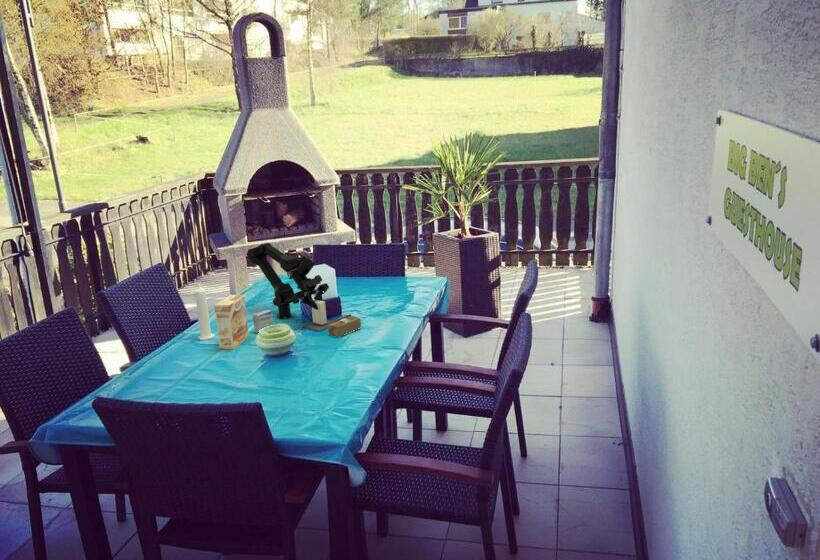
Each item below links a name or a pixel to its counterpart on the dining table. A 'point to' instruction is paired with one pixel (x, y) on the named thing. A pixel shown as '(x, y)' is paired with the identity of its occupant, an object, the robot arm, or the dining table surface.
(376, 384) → the dining table surface
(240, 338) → the coffeecake box
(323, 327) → the mat
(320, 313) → the cream pillar
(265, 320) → the medicine box
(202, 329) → the candle
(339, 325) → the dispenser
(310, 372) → the dining table surface
